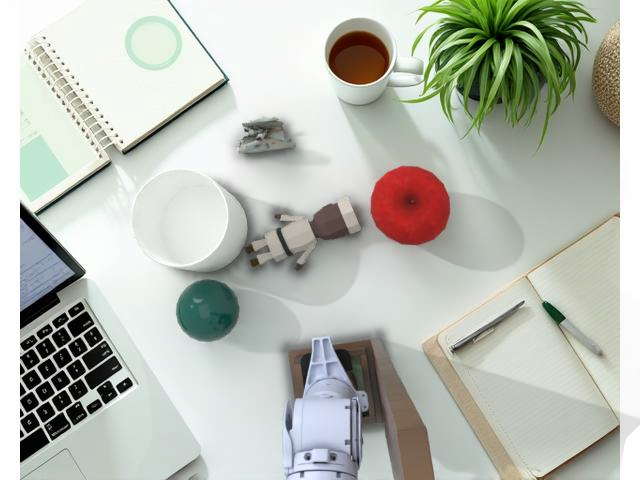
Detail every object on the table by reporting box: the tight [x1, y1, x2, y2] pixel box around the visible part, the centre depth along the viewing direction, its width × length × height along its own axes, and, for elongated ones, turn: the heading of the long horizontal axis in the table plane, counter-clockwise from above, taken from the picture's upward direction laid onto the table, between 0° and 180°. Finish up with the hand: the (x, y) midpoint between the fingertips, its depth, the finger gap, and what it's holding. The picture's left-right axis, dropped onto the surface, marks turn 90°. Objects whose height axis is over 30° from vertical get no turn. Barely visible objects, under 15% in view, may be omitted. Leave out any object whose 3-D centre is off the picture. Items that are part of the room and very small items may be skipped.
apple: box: [370, 165, 451, 246], centre depth 77 cm, size 10×10×11 cm
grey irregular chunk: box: [235, 115, 297, 155], centre depth 81 cm, size 4×8×7 cm, turn 97°
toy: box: [243, 195, 362, 272], centre depth 81 cm, size 8×5×15 cm
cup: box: [130, 167, 248, 273], centre depth 77 cm, size 12×12×12 cm
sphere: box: [175, 278, 241, 343], centre depth 78 cm, size 8×8×8 cm
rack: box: [287, 337, 436, 480], centre depth 52 cm, size 11×12×57 cm
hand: (334, 392), depth 74 cm, fingers closed on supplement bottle, 6 cm apart
